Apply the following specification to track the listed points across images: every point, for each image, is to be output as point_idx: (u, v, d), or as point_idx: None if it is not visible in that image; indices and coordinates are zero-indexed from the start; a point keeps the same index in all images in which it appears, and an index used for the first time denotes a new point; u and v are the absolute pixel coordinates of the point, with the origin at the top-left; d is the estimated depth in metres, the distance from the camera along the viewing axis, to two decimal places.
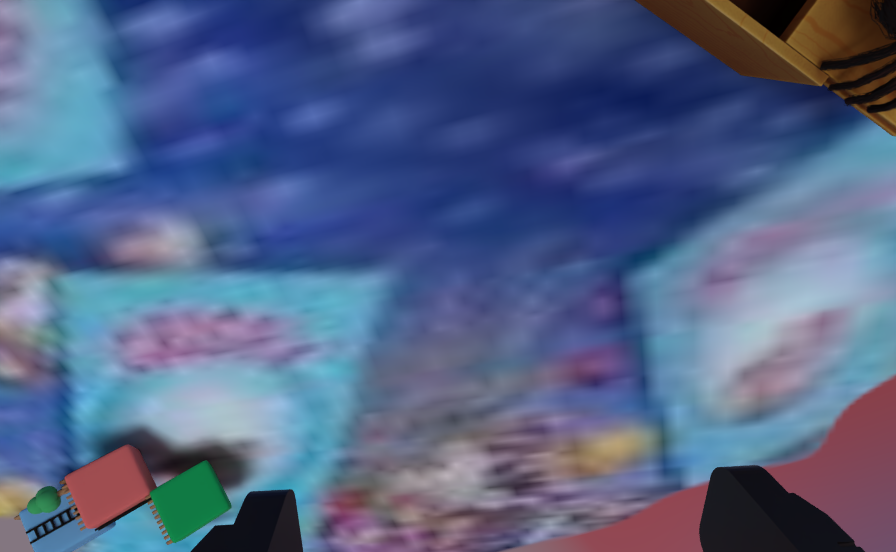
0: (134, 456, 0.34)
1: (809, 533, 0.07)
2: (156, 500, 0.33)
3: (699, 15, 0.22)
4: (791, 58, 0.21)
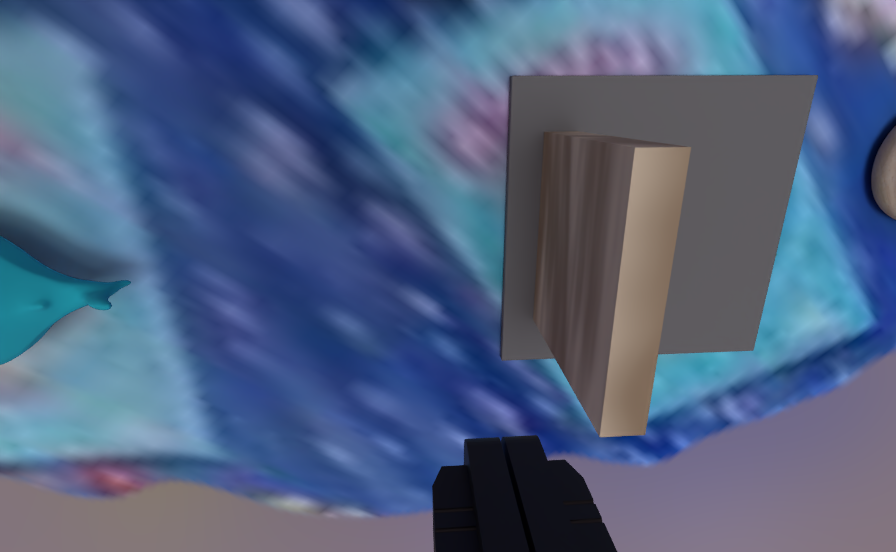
0: None
1: (542, 490, 0.08)
2: None
3: None
4: None
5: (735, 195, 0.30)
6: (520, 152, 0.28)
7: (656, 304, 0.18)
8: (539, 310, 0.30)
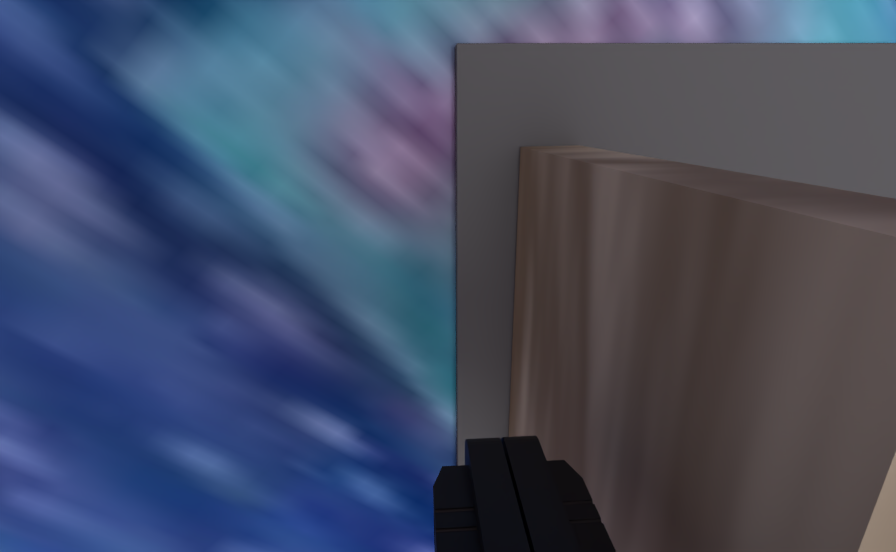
0: None
1: (541, 491, 0.08)
2: None
3: None
4: None
5: None
6: (477, 183, 0.16)
7: None
8: None
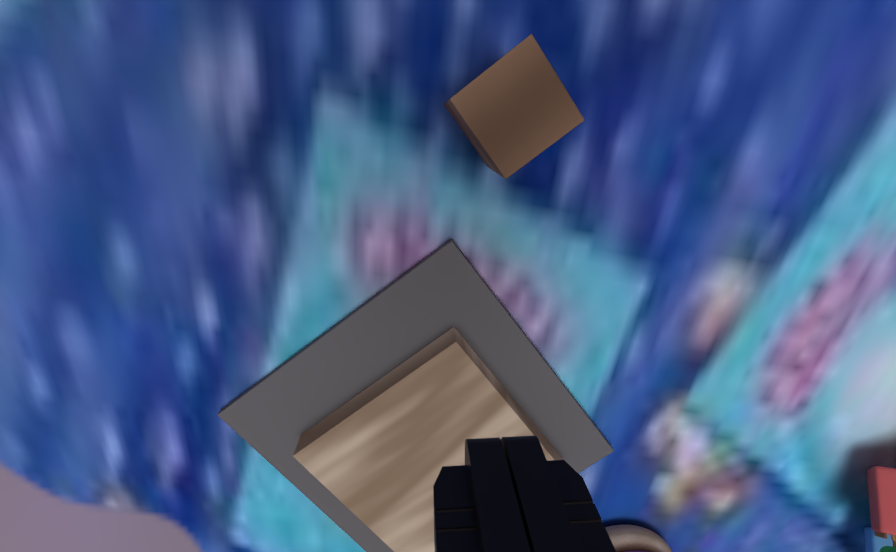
0: None
1: (541, 490, 0.08)
2: None
3: None
4: None
5: None
6: (400, 292, 0.27)
7: None
8: (325, 460, 0.28)
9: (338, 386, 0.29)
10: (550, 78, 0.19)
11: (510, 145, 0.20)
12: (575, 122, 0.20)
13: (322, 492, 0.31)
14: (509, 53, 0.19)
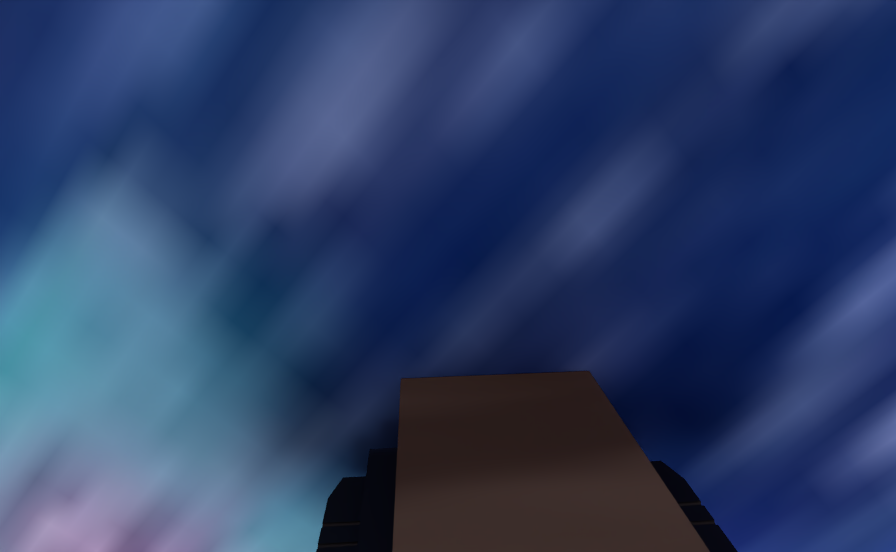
0: None
1: None
2: None
3: None
4: None
5: None
6: None
7: None
8: None
9: None
10: None
11: None
12: None
13: None
14: None
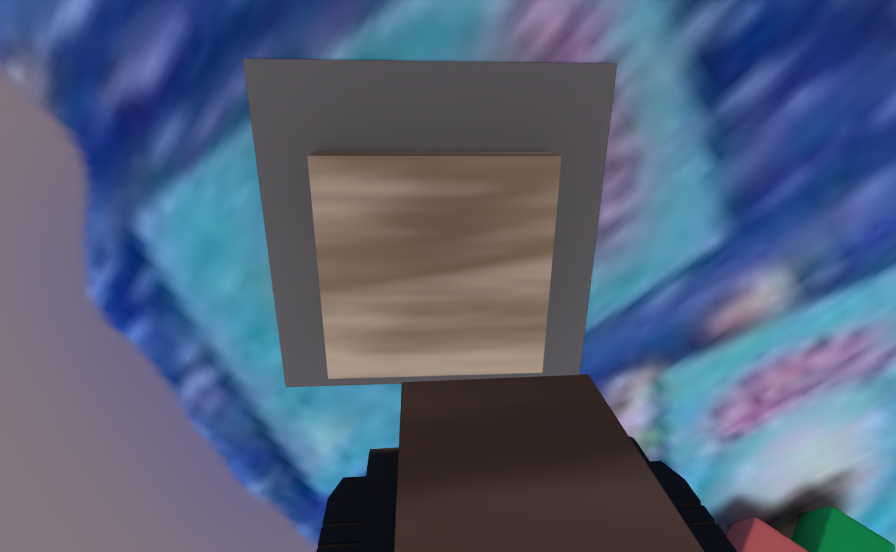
0: (769, 526, 0.33)
1: None
2: None
3: None
4: None
5: None
6: (533, 77, 0.23)
7: None
8: (337, 186, 0.23)
9: (396, 128, 0.24)
10: None
11: None
12: None
13: (285, 232, 0.25)
14: None
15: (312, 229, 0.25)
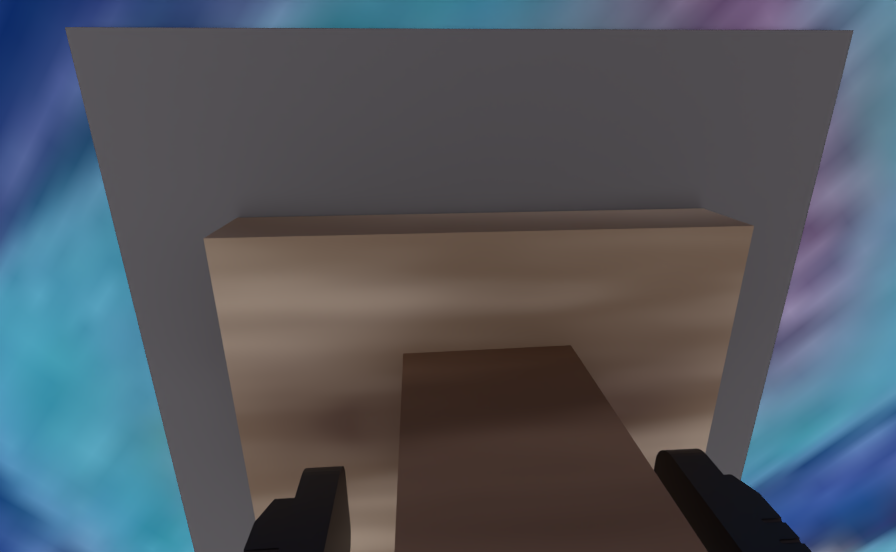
0: None
1: (735, 509, 0.08)
2: None
3: None
4: None
5: None
6: (680, 60, 0.11)
7: None
8: (274, 298, 0.10)
9: (399, 168, 0.12)
10: None
11: None
12: None
13: (188, 368, 0.13)
14: None
15: None
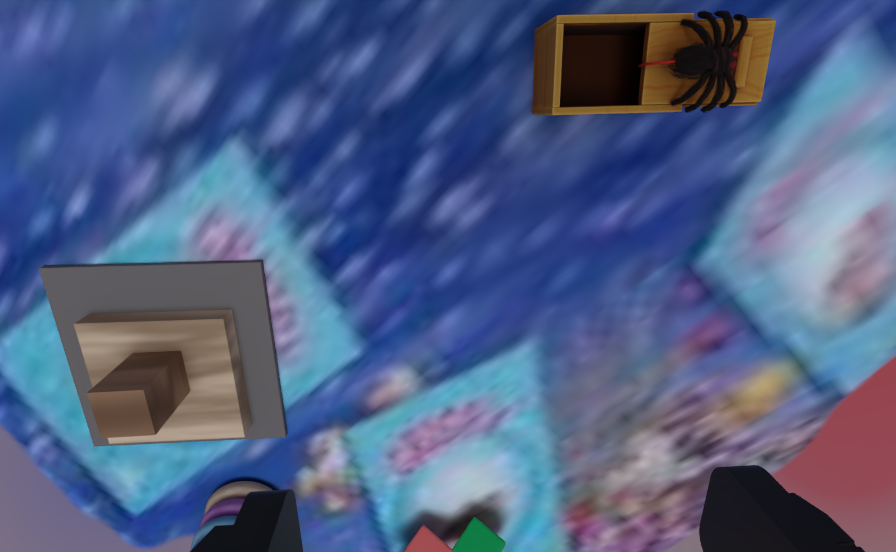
0: (430, 531, 0.49)
1: (809, 533, 0.07)
2: None
3: None
4: (651, 109, 0.33)
5: None
6: (211, 271, 0.40)
7: None
8: (94, 338, 0.39)
9: (135, 299, 0.41)
10: (145, 411, 0.35)
11: (110, 426, 0.36)
12: (150, 433, 0.36)
13: (78, 357, 0.42)
14: (128, 391, 0.35)
15: None
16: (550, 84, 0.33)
